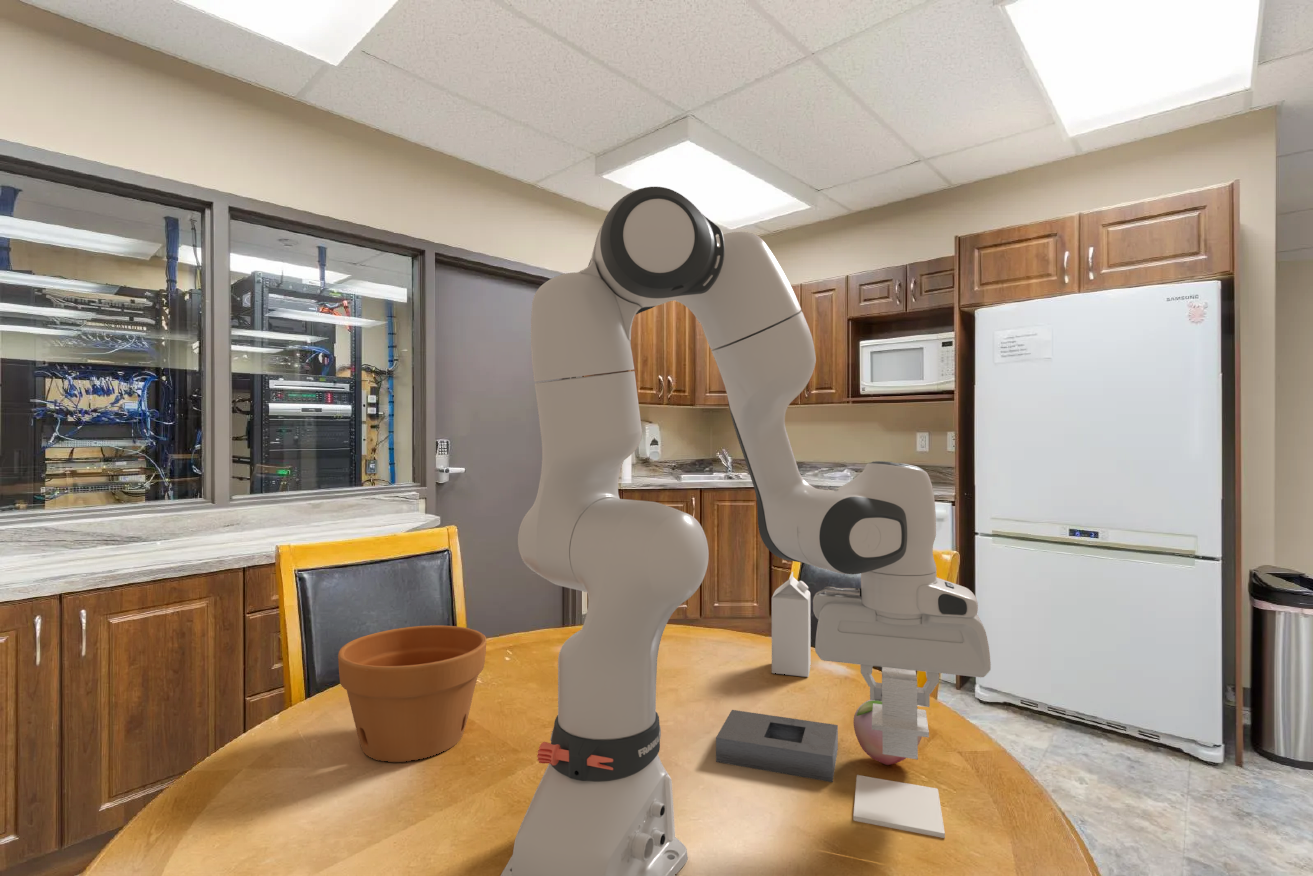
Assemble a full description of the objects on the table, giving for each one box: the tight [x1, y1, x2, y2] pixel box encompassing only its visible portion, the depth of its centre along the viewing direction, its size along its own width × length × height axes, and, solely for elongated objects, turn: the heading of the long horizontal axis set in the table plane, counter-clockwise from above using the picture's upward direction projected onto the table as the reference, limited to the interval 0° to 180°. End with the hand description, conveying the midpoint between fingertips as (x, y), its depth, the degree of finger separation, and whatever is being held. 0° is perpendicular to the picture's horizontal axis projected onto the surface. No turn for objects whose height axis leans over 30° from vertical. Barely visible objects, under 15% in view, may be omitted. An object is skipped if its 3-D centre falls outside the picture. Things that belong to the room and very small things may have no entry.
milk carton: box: [771, 571, 812, 678], centre depth 127 cm, size 7×7×19 cm
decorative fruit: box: [853, 699, 922, 766], centre depth 89 cm, size 9×8×10 cm
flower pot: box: [337, 624, 487, 763], centre depth 96 cm, size 21×21×15 cm
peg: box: [872, 667, 930, 760], centre depth 79 cm, size 6×6×10 cm
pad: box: [852, 774, 946, 839], centre depth 79 cm, size 10×10×1 cm
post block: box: [715, 709, 839, 783], centre depth 92 cm, size 10×16×4 cm, turn 70°
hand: (899, 702), depth 79 cm, fingers closed on peg, 4 cm apart
